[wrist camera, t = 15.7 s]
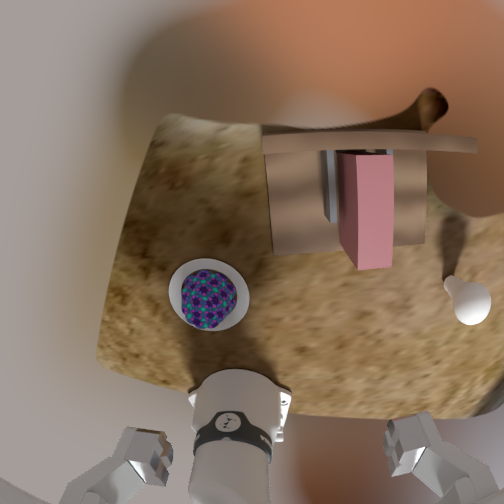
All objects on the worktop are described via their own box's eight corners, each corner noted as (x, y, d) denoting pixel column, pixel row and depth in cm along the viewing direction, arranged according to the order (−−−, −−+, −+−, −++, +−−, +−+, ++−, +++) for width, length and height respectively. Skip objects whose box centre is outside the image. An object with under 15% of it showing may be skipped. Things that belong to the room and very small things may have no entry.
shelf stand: (421, 241, 40) (467, 277, 28) (273, 253, 42) (275, 299, 30) (421, 130, 35) (476, 131, 23) (262, 133, 37) (260, 128, 25)
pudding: (167, 254, 43) (155, 268, 38) (251, 258, 43) (249, 274, 38) (173, 324, 47) (164, 343, 42) (248, 331, 47) (246, 351, 42)
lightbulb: (439, 260, 41) (476, 291, 31) (466, 265, 41) (504, 295, 31) (427, 295, 43) (459, 332, 33) (454, 298, 43) (487, 333, 33)
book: (368, 241, 40) (391, 266, 31) (339, 243, 40) (357, 270, 32) (366, 151, 36) (392, 155, 27) (336, 152, 36) (356, 155, 28)
